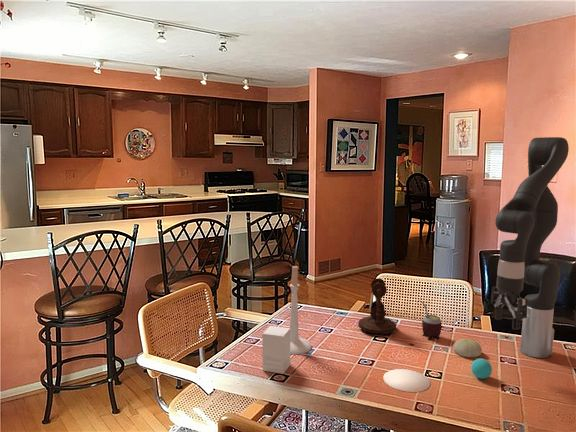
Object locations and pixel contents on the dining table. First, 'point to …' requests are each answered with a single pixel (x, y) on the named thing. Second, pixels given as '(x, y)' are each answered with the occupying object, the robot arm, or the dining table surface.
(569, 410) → the dining table surface
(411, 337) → the dining table surface
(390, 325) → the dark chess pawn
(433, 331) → the mate gourd
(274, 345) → the supplement box
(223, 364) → the dining table surface
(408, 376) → the white disc
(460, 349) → the sea urchin shell
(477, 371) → the ball
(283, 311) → the dining table surface
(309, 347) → the candlestick
